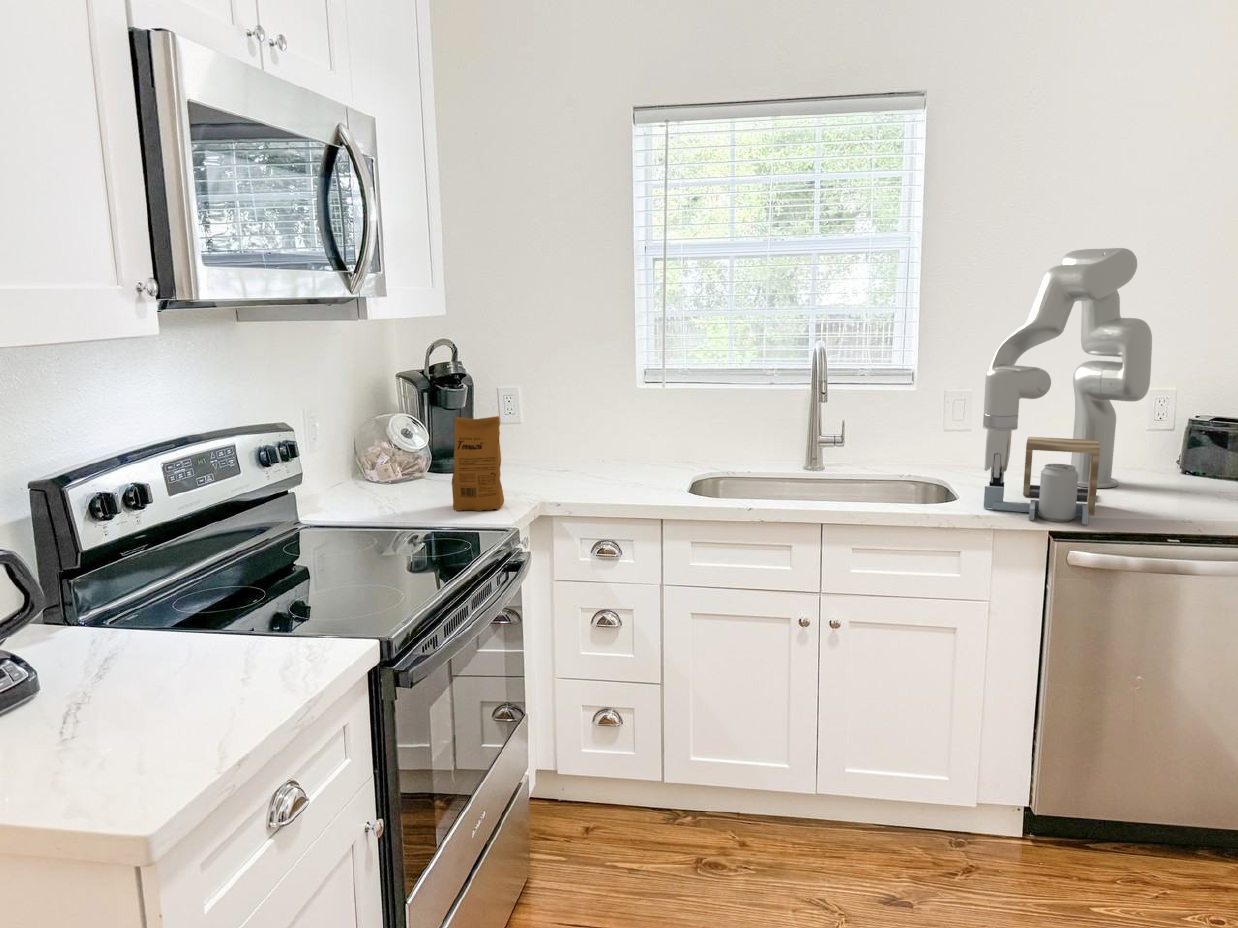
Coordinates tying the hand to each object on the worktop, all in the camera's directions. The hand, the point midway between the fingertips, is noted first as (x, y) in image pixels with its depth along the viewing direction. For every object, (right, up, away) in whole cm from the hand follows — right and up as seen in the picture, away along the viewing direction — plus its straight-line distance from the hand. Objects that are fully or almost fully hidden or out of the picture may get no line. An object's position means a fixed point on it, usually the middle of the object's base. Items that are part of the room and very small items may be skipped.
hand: (995, 498), depth 222 cm
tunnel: (+12, -2, -5) cm, 13 cm away
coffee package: (-123, -2, +3) cm, 123 cm away
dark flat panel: (+18, 0, +7) cm, 19 cm away
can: (+7, -4, -15) cm, 17 cm away
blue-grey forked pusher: (+3, -3, -13) cm, 14 cm away
